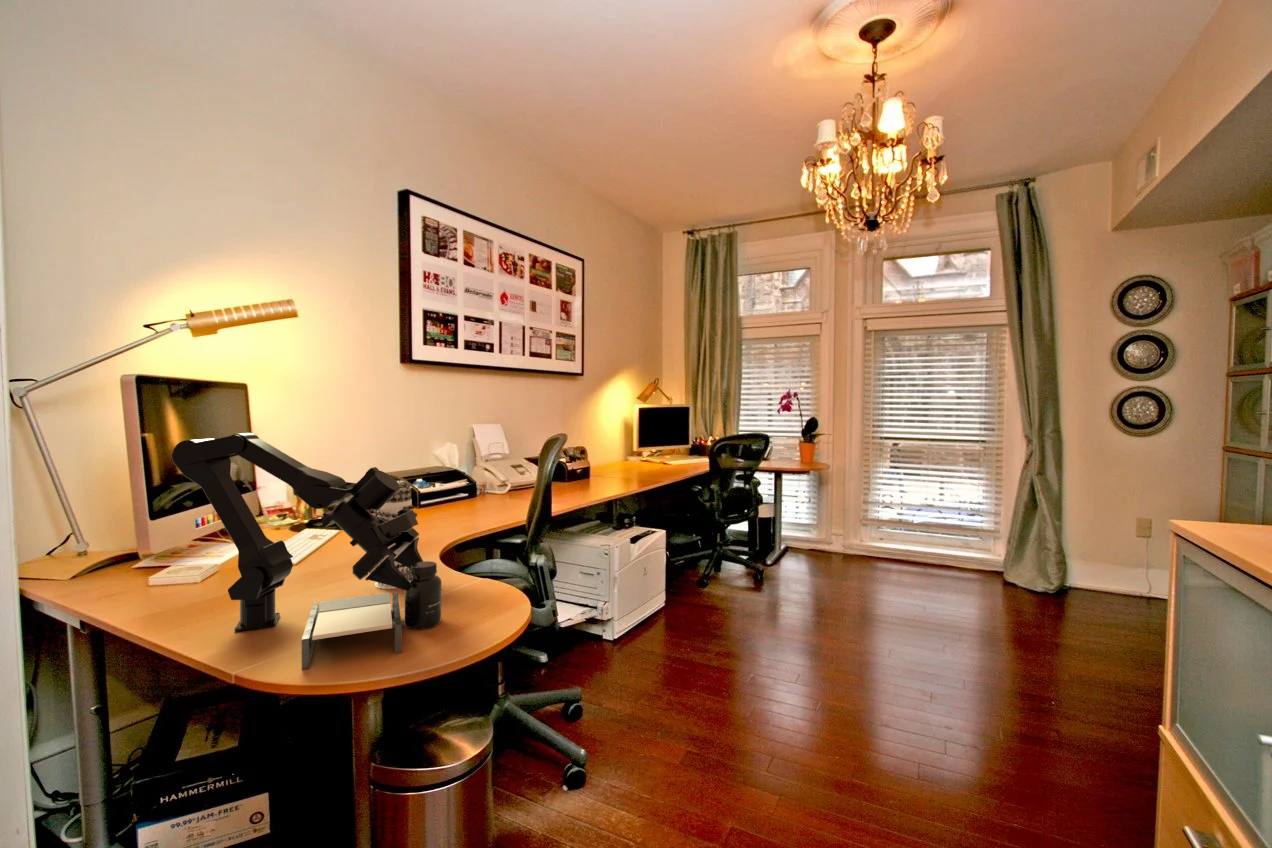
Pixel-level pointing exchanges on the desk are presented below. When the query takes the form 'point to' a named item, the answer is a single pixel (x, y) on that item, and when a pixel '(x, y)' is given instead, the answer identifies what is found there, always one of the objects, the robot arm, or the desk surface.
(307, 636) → the flap frame
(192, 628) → the desk surface
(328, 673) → the desk surface
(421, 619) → the supplement bottle
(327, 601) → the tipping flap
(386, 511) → the decorative candle
